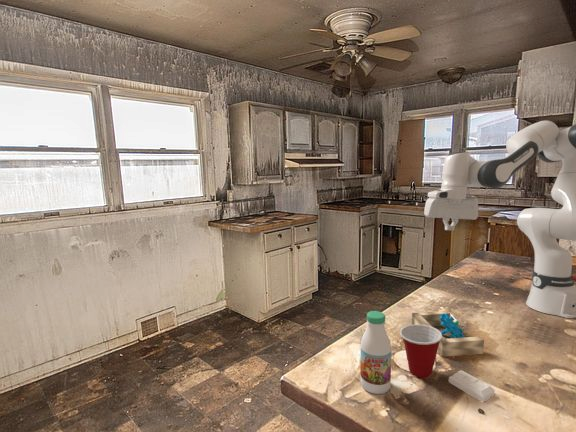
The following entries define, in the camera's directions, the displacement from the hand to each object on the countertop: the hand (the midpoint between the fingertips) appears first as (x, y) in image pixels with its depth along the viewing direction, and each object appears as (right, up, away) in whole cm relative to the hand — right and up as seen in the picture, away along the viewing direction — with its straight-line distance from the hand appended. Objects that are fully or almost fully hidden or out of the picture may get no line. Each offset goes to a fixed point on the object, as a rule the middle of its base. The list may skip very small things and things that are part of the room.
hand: (449, 230), depth 125 cm
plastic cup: (-25, -38, -34) cm, 57 cm away
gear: (-7, -35, -17) cm, 40 cm away
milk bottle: (-39, -40, -39) cm, 68 cm away
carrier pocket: (-10, -35, -17) cm, 40 cm away
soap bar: (-15, -40, -41) cm, 59 cm away
